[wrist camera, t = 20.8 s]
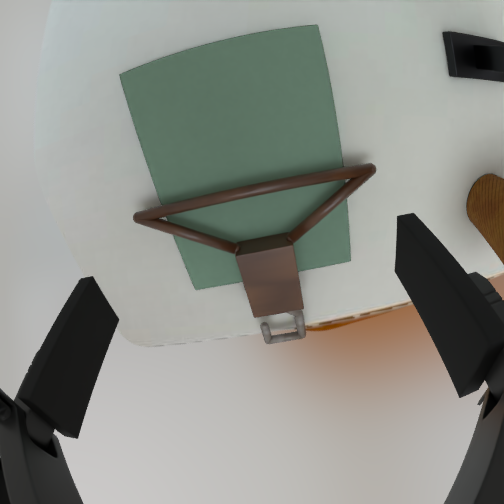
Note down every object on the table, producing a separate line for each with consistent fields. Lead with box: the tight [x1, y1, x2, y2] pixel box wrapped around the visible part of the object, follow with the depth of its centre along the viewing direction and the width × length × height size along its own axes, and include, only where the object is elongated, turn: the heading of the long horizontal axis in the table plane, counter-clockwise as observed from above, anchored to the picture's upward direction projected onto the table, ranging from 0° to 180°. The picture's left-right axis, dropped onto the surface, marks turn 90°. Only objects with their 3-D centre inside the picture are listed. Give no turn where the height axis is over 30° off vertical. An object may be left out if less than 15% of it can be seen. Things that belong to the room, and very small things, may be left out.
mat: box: [120, 25, 351, 290], centre depth 25 cm, size 22×16×1 cm
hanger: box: [133, 163, 376, 344], centre depth 29 cm, size 21×2×18 cm
